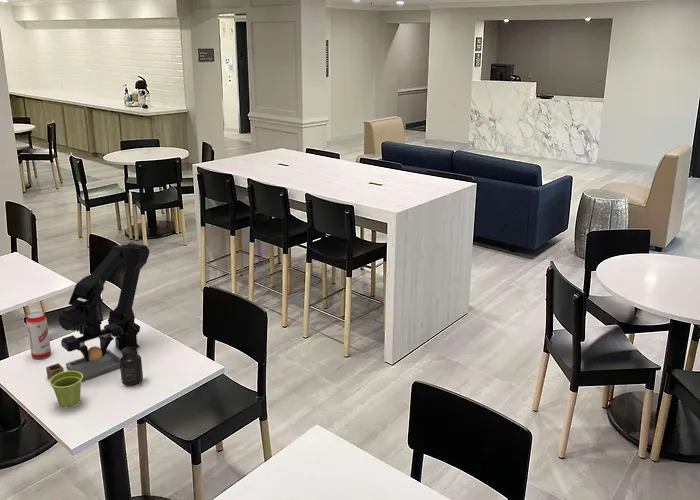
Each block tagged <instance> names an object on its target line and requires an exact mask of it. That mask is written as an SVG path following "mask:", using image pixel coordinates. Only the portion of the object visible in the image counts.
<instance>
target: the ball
mask: <svg viewBox="0 0 700 500" xmlns="http://www.w3.org/2000/svg"><path fill="white" fill-rule="evenodd" d="M88 357H89V360H90V361H98V360H99V359H100V358H101V357H102V350H101V349H100V346H91V347H90V348H88Z"/></svg>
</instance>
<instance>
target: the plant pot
mask: <svg viewBox="0 0 700 500" xmlns="http://www.w3.org/2000/svg"><path fill="white" fill-rule="evenodd" d="M82 379H83V374H82V373H80V372H78V371H69V370H67V371H66V370H64V372H61V373H58V374H56V375H54V376H53V377H52V378H51V379H50V380H49V381H48V382H49V385H50V386H51V387H52V389H53V391H54V394H55V396H56V400H57V403H58V405H59V407H60V408H64V409H65V408H68V409H69V408H73V407H76V406H77V405H78V404H79V403H80V402H81V390H82V389H81V388H82V387H81V386H82V383H83V382H82Z"/></svg>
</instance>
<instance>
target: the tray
mask: <svg viewBox="0 0 700 500" xmlns="http://www.w3.org/2000/svg"><path fill="white" fill-rule="evenodd" d="M120 358H121V357H119V356H118V355H116V354H115V353H114V352H113V351H111V350H110V349H108V348H107V350H106V352H105V354H104V356H103V357H101V358H100V359H99V360H98V361H90V360H89V361H88V362H87V361H86V360H85V358H84V357H81V358H78V359H75V360H72V361H69V362H66V363H65V366H66V367H65V368H66V369H67V371H78V372H80V373H82V374H83V379H82V382H81V383H84V382H86V381H88V380H89V381H90V380H92V379H94V378H97V377H100V376H102V375H106V374H108V373H111V372H113V371H117V370H119V369H120Z"/></svg>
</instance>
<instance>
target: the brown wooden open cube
mask: <svg viewBox="0 0 700 500" xmlns="http://www.w3.org/2000/svg"><path fill="white" fill-rule="evenodd" d="M45 370H46V377H47V379H48V380H49V381H50V379H51V378H52V377H53V376H54V375H56V374H58V373H61V372H65V370H64V367H63V366H62V365H61V364H60V363H59V362H58V363H54V364H51V365H49V366H46V367H45Z"/></svg>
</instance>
